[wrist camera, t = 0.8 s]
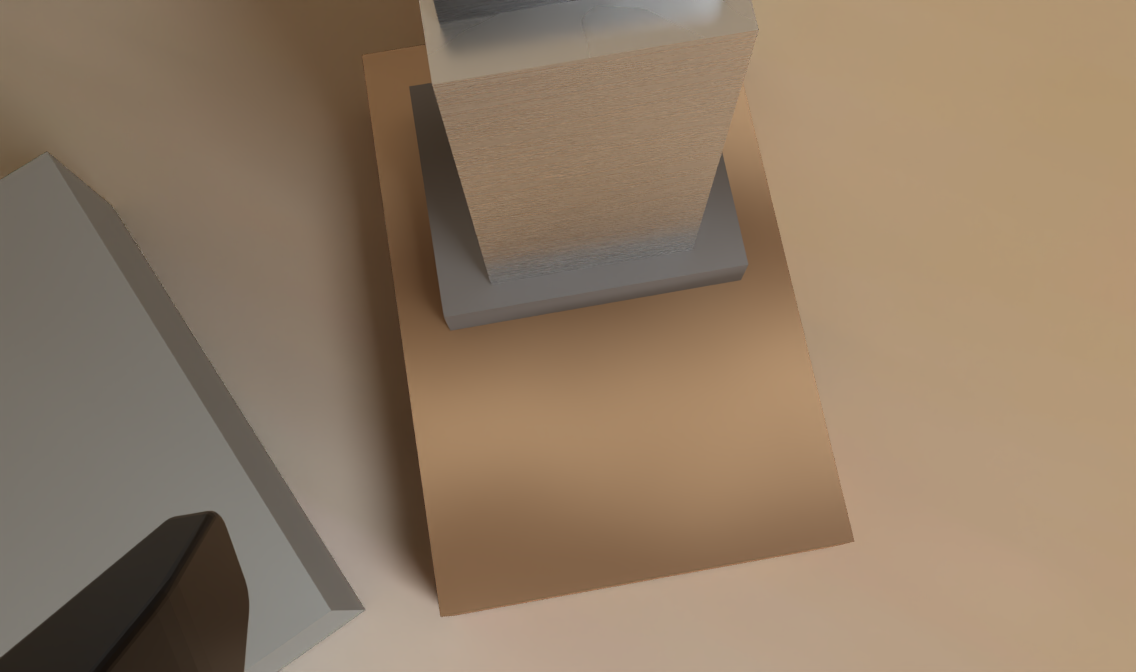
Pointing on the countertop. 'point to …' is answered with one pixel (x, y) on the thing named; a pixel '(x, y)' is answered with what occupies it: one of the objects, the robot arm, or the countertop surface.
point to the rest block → (128, 429)
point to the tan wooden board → (598, 384)
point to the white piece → (586, 122)
